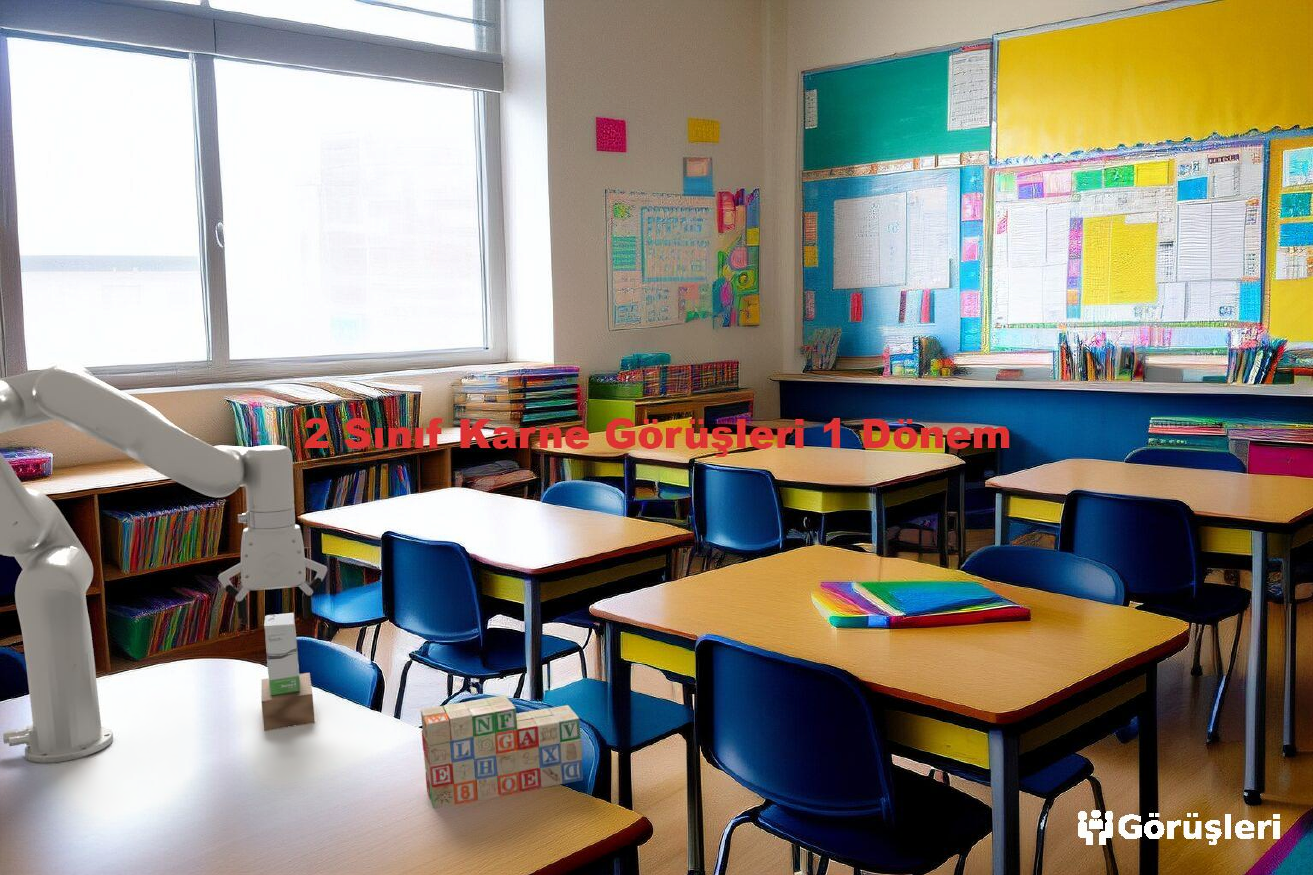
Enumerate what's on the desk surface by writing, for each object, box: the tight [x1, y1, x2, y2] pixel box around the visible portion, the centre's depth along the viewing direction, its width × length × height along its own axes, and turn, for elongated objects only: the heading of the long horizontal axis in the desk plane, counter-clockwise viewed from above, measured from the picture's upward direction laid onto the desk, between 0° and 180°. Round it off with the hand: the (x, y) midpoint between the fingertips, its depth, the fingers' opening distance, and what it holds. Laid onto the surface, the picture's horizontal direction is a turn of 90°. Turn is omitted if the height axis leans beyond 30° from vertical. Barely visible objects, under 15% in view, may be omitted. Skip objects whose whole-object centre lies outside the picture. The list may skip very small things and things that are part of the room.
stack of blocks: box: [420, 694, 584, 809], centre depth 157 cm, size 21×6×12 cm, turn 109°
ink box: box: [263, 612, 300, 695], centre depth 189 cm, size 9×5×12 cm, turn 19°
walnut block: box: [260, 672, 316, 732], centre depth 190 cm, size 8×12×5 cm, turn 19°
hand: (275, 619), depth 188 cm, fingers open, 9 cm apart
